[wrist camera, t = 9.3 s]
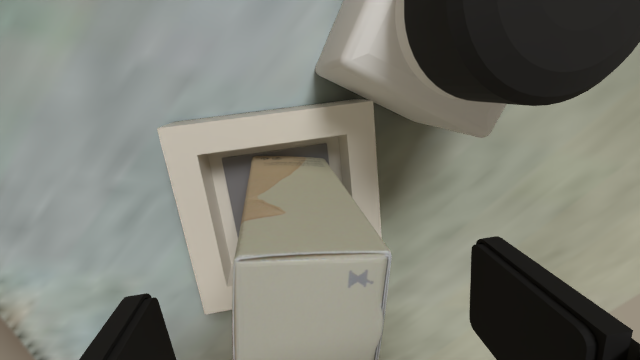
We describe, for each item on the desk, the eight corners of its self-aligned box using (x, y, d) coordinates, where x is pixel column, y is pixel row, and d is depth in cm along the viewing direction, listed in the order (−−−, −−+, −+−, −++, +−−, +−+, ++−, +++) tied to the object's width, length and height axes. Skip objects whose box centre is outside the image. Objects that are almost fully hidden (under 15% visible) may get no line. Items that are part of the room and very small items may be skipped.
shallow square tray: (357, 98, 19) (373, 100, 16) (369, 255, 22) (384, 279, 20) (174, 121, 18) (156, 128, 15) (213, 284, 21) (205, 314, 18)
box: (251, 154, 18) (230, 245, 8) (326, 156, 19) (400, 244, 9) (250, 239, 20) (231, 414, 9) (320, 239, 20) (377, 400, 10)
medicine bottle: (415, 123, 20) (604, 170, 9) (312, 73, 19) (383, 51, 7) (472, 9, 19) (781, -106, 8) (366, -57, 17) (560, -336, 6)
